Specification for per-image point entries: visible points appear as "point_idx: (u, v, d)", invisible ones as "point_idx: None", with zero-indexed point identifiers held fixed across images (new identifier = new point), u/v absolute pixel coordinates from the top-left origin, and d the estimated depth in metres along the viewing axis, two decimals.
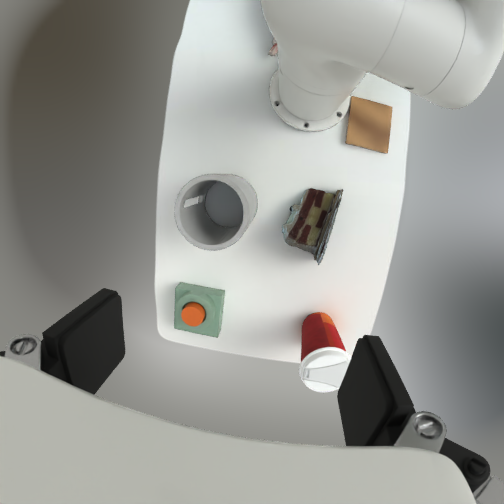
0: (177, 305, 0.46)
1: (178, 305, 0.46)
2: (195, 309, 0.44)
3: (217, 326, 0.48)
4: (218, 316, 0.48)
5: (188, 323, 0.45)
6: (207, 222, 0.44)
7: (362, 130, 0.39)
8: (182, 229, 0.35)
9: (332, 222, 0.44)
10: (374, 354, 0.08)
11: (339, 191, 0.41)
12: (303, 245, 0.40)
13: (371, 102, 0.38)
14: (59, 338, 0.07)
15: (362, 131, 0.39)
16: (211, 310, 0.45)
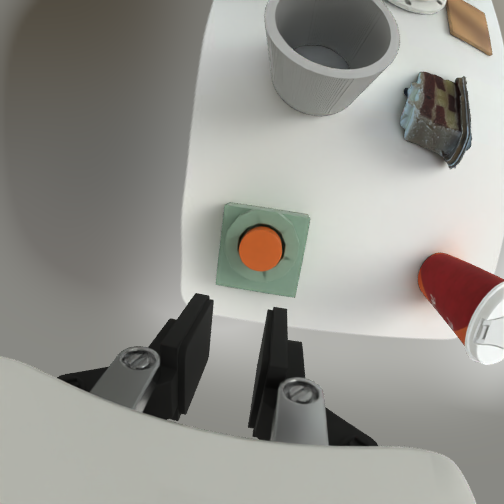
0: (229, 233, 0.25)
1: (231, 233, 0.25)
2: (269, 235, 0.24)
3: (297, 276, 0.28)
4: (300, 256, 0.27)
5: (252, 265, 0.25)
6: None
7: (464, 24, 0.19)
8: (280, 40, 0.14)
9: None
10: (274, 323, 0.10)
11: None
12: (443, 128, 0.20)
13: (465, 2, 0.18)
14: (180, 347, 0.08)
15: (464, 25, 0.19)
16: (295, 240, 0.25)
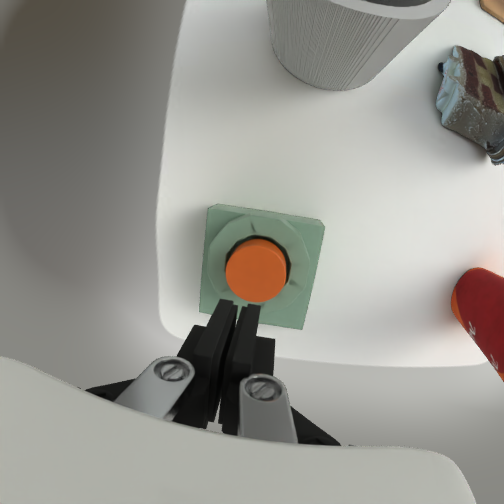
0: (213, 248, 0.18)
1: (216, 248, 0.18)
2: (268, 252, 0.17)
3: (305, 303, 0.21)
4: (311, 277, 0.20)
5: (244, 294, 0.17)
6: None
7: (495, 0, 0.11)
8: None
9: None
10: (245, 319, 0.10)
11: (500, 56, 0.13)
12: (493, 112, 0.13)
13: None
14: (213, 356, 0.08)
15: (495, 1, 0.11)
16: (305, 258, 0.18)
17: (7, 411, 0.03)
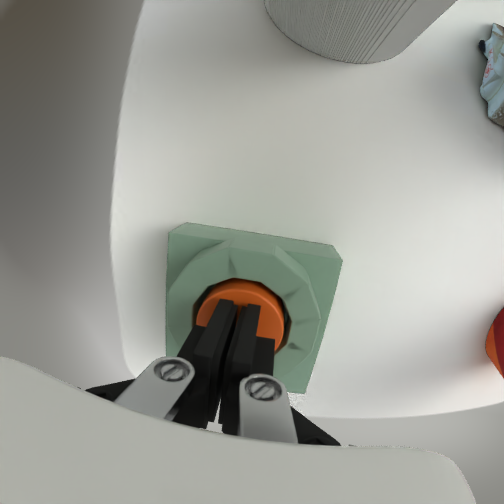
0: (174, 296, 0.12)
1: (178, 296, 0.12)
2: (257, 300, 0.11)
3: (310, 363, 0.14)
4: (319, 331, 0.14)
5: None
6: None
7: None
8: None
9: None
10: (245, 319, 0.10)
11: None
12: None
13: None
14: (213, 356, 0.08)
15: None
16: (313, 312, 0.11)
17: (7, 411, 0.03)
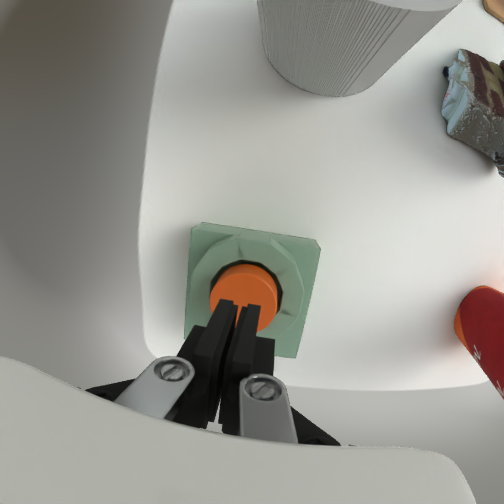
0: (197, 274, 0.16)
1: (200, 274, 0.16)
2: (256, 281, 0.15)
3: (299, 331, 0.19)
4: (305, 304, 0.18)
5: None
6: None
7: (499, 2, 0.11)
8: None
9: None
10: (245, 319, 0.10)
11: None
12: None
13: None
14: (213, 356, 0.08)
15: (499, 3, 0.11)
16: (298, 285, 0.16)
17: (7, 411, 0.03)
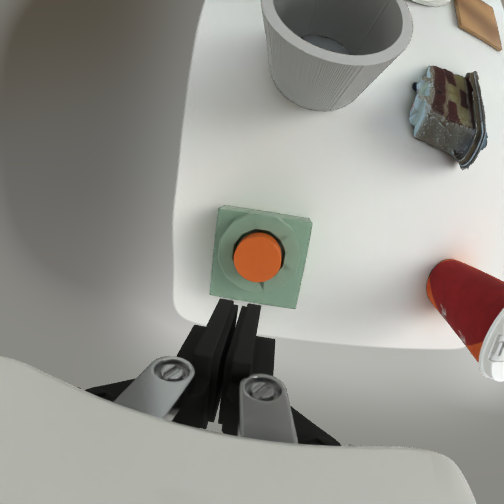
0: (223, 240, 0.23)
1: (225, 240, 0.23)
2: (267, 242, 0.21)
3: (297, 286, 0.25)
4: (302, 264, 0.25)
5: (248, 275, 0.22)
6: None
7: (473, 18, 0.17)
8: (279, 23, 0.12)
9: None
10: (246, 319, 0.10)
11: None
12: (456, 125, 0.18)
13: None
14: (213, 356, 0.08)
15: (473, 19, 0.17)
16: (296, 247, 0.23)
17: (7, 411, 0.03)
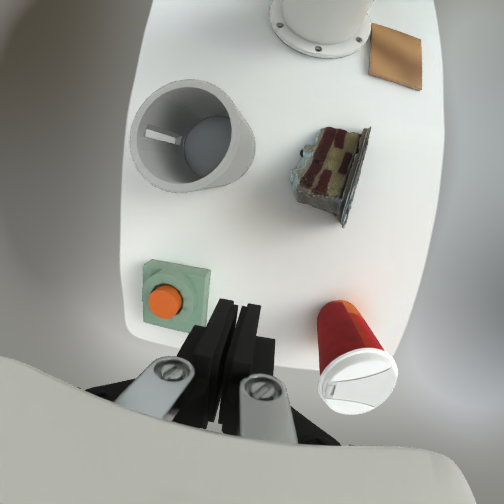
0: (144, 289, 0.32)
1: (145, 289, 0.32)
2: (167, 294, 0.31)
3: (200, 319, 0.35)
4: (201, 305, 0.34)
5: (158, 314, 0.31)
6: (185, 170, 0.30)
7: (389, 60, 0.26)
8: (139, 163, 0.21)
9: (358, 173, 0.31)
10: (245, 319, 0.10)
11: (367, 129, 0.28)
12: (322, 197, 0.27)
13: (396, 31, 0.24)
14: (213, 356, 0.08)
15: (388, 61, 0.26)
16: (190, 296, 0.32)
17: (7, 411, 0.03)
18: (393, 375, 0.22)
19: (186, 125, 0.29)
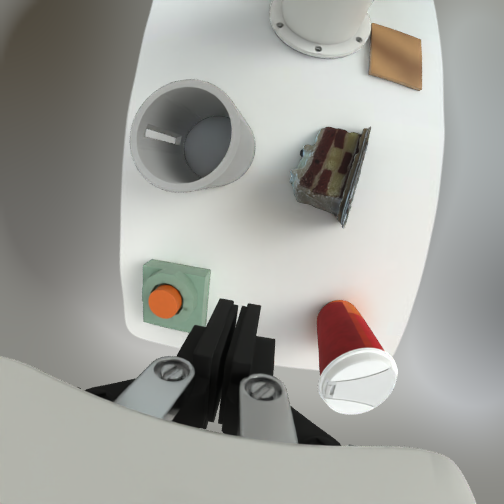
0: (144, 289, 0.32)
1: (145, 289, 0.32)
2: (167, 293, 0.31)
3: (200, 319, 0.35)
4: (201, 305, 0.34)
5: (158, 314, 0.31)
6: (185, 170, 0.30)
7: (389, 60, 0.26)
8: (139, 162, 0.21)
9: (358, 173, 0.31)
10: (245, 319, 0.10)
11: (366, 129, 0.28)
12: (322, 196, 0.27)
13: (396, 31, 0.24)
14: (213, 356, 0.08)
15: (388, 61, 0.26)
16: (190, 296, 0.32)
17: (7, 411, 0.03)
18: (393, 375, 0.22)
19: (186, 125, 0.29)
